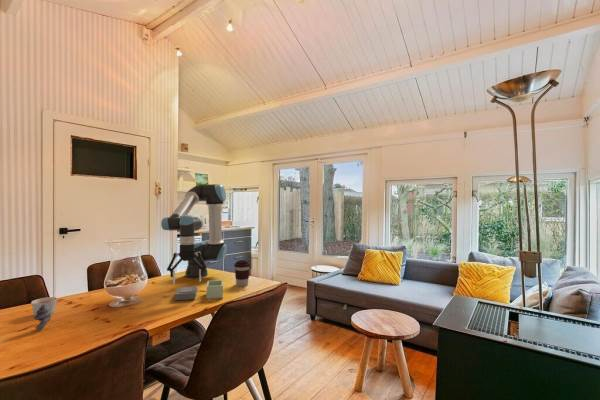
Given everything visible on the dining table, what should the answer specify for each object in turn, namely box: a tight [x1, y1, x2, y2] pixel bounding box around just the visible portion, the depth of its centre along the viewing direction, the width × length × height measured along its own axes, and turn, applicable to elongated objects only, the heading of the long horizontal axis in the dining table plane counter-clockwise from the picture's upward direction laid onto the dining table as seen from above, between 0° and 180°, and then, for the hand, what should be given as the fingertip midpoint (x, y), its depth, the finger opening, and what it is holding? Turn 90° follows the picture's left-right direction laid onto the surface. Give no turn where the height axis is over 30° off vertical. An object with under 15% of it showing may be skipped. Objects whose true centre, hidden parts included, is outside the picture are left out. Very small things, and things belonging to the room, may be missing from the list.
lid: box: [174, 285, 198, 301], centre depth 161 cm, size 13×10×4 cm
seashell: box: [34, 304, 53, 331], centre depth 119 cm, size 5×5×10 cm
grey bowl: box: [31, 296, 58, 317], centre depth 135 cm, size 9×9×6 cm
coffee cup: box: [233, 259, 251, 287], centre depth 186 cm, size 10×10×15 cm
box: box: [206, 279, 224, 301], centre depth 164 cm, size 12×8×7 cm
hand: (187, 282), depth 162 cm, fingers open, 13 cm apart
